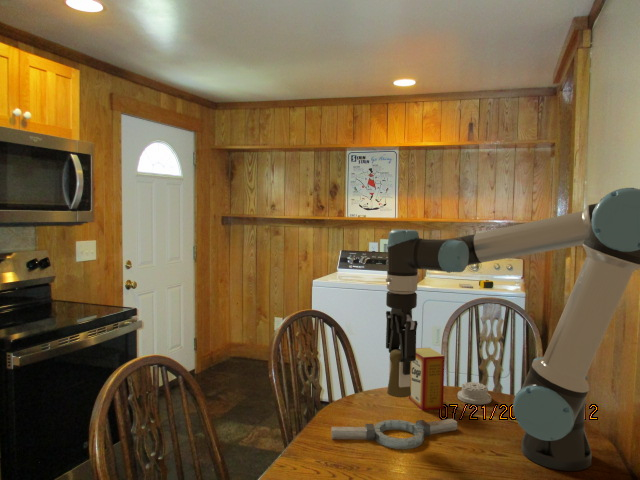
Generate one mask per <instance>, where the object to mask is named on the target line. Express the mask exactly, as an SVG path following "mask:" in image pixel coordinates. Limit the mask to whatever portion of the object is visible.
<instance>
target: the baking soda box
mask: <svg viewBox="0 0 640 480" xmlns="http://www.w3.org/2000/svg"><path fill="white" fill-rule="evenodd" d="M445 359H446V357H445V355H443V354H441V353H440V352H438V351H436V350H435V349H433V348H431V347H416V360H415V361H411V370H410V389H411V395H410V396H408V400H410V402H411V403H413V404H414V405H415V406H417V408H419V409H420V410H421V411H422V412H424V411H435V410H443V409H444V389H445V388H444V384H445Z"/></svg>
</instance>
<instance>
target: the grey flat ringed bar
mask: <svg viewBox="0 0 640 480" xmlns="http://www.w3.org/2000/svg"><path fill="white" fill-rule="evenodd" d="M364 424H365V425H364V426H331V439H332V440H366V441H368V442H369V441H370V442H373V441H375V442H376V443H378V444H379V445H381V446H383V447H386V448H390V449H394V450H395V449H396V450H411V449H414V448H415V449H416V448H418V447H420V446H421V445H423V443H424V441H425V438H426V437H431V435H436V434H441V433H446V432H452V431H453V432H454V431H457V430H458V421H456V420H455V419H454V418H447V419H442V420H433V421H430V422H426V421H425V420H424V419H418V420H416V421H415V423H414V422H412V421H411V422H410V421H408V420H402V419H385V420H381V421H379V422H377V423H375V425H374V423H364ZM390 430H393V431H394V430H396V431H397V430H399V431H405V432H409V433H410V434H413V436H411V437H407V438H404V437H403V438H401V437H398V438H397V437H392V436H390V435H386V434H384V433H383V432H386V431H390Z"/></svg>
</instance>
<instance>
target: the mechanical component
mask: <svg viewBox="0 0 640 480" xmlns="http://www.w3.org/2000/svg"><path fill="white" fill-rule="evenodd" d="M457 398H458V399H459V400H460V401H461V402H464V403H466V404H471V405H488V404H490V403H491V402H492V395H491V394H490V393H488V386H487V385H484V383H481V382H480V383H479V382H474V381H469V382H464V383H462V384H461V390H459V391H458V392H457Z"/></svg>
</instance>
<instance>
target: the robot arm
mask: <svg viewBox="0 0 640 480" xmlns="http://www.w3.org/2000/svg"><path fill="white" fill-rule="evenodd" d="M579 246H582V247H583V249H584V251H585V253H586V257H585V259H584V262H583V264H582V266H581V268H580V270H579V274H578V275H577V278H576V281H575V283H574V285H573V288H572V290H571V292H570V294H569V296H568V299H567V301H566V304H565V306H564V308H563V311H562V313H561V316H560V318H559V320H558V322H557V325H556V327H555V330H554V331H553V334H552V336H551V339H550V341H549V344H548V345H547V348H546V351H545V353H544V355H543V356H539V357H536V358H534V359H533V361H532V364H531V365H530V367H529V371H528V373H527V375H526V378H525V379H524V382H523V385H522V387H521V389H519V390H518V391H517V392H516V394H515V396H514V399H513V403H512V410H513V411H512V412H513V415H514V417H515V420H516V421H517V423H518V425H519V427H520V428H521V429H522V430H523V431H524V434H523V436H522V439H521V452H522V455H524V456H525V457H526V458H527V459H528V460H531V462H534V463H535V464H538V465H540V466H542V467H545V468H548V469H553V470H558V471H564V472H578V471H584V470H587V469H588V468H590V467H589V466H591V465H592V457H593V455H592V454H593V453H592V450H591V446H590V443H589V440H588V437H587V433H586V430H585V429H586V428H585V421H586V420H585V419H586V401H587V400H586V397H587V395H588V392H589V391H590V386H589V385H590V384H589V382H588V381H587V380H588V378H589V377H588V372H589V370H590V368H591V366H592V363H593V362H594V359H595V357H596V355H597V352H598V350H599V349H600V346H601V344H602V342H603V340H604V337H605V335H606V333H607V331H608V328H609V326H610V325H611V322H612V320H613V317H614V315H615V313H616V310H617V309H618V306H619V305H620V303H621V302H620V301H621V300H622V297H623V295H624V293H625V290H626V289H627V286H628V284H629V282H630V279H631V278H632V276H633V274H634V272H635V271H638V270H640V188H636V187H624V188H623V187H622V188H619V189H615V190H613V191H611V192H609V193H608V194H606V195H605V196H603V198H601V199H600V200H599V201H598V202H596V203H593V204H588V205H587V206H586V207H585V208H584V210H581V211H577V212H572V213H566V214H561V215H558V216H553V217H549V218H544V219H543V218H542V219H539V220H534V221H529V222H525V223H520V224H514V225H511V226H505V227H501V228H497V229H492V230H491V229H490V230H487V231H483V232H477V233H473V234H467V235H463V236H458V237H453V238H444V239H435V238H434V239H431V238H421V237H420V235H419V230H416V229H392V230H390V231H389V233H388V239H387V247H386V249H387V271H386V275H387V276H386V278H385V282H386V289H387V290H388V291H387V292H386V297H385V298H386V301H385V302H386V307H388V308H390V309H391V310H386V312H385V316H386V317H385V318H386V328H385V329H386V331H385V335H386V336H385V349H387V351H388V353H389V354H390V353H391V351H393V350H396V349H400V350H401V359H398V360H399V387H410V370H411V361H415V360H416V348H417V329H418V324H419V323H418V320H413V316H412V309H415V308H417V304H418V294H417V291H418V277H419V275H418V270H426V271H437V272H445V273H462V272H464V271H465V270H466V269H467V267H468V266H472V265H478V264H482V263H487V262H493V261H499V260H500V261H501V260H505V259H510V258H516V257H517V258H518V257H522V256H528V255H533V254H539V253H544V252H545V253H546V252H550V251H555V250H562V249H567V248H573V247H574V248H575V247H579ZM391 364H392V363H391V361H390V360H389V366H388V367H389V370H388V371H389V373H388V378H389V377H390V371H391ZM583 469H584V470H583Z"/></svg>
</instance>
